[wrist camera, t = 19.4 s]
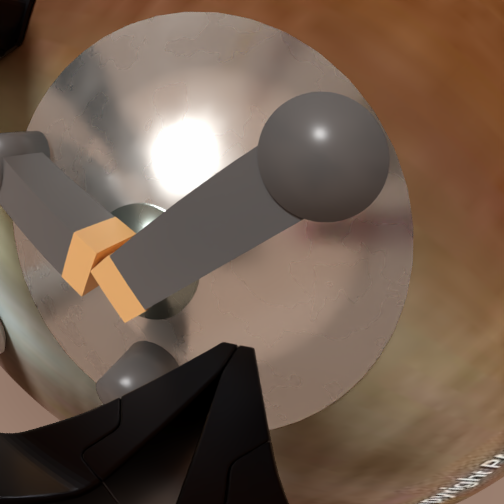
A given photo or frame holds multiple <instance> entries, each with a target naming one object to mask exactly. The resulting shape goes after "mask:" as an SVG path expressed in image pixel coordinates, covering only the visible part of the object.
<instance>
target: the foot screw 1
mask: <svg viewBox="0 0 504 504" xmlns="http://www.w3.org/2000/svg"><path fill="white" fill-rule="evenodd" d="M0 205H1V206H2V207H3V209H4V210H5V211H6V212H7V214H8V215H9V216H10V218H11V219H12V220H13V221H14V223H15V224H16V225H17V226H18V227H19V229H20V230H21V231H22V232H23V234H24V235H25V236H26V237H27V238H28V239H29V241H30V242H31V243H32V244H33V245H34V246H35V247H36V249H37V250H38V251H39V252H40V253H41V254H42V255H43V256H44V258H45V259H46V260H47V261H48V262H49V263H50V264H51V265H52V266H53V267H54V268H55V269H56V270H57V271H58V272H59V273H60V275H61V277H62V278H63V279H64V280H65V281H66V282H67V283H68V284H69V285H70V286H71V287H72V288H73V289H74V290H75V291H76V292H77V293H78V294H80V295H81V296H84V295H85V294H87V293H88V292H90V291H91V290H93V289H95V288H96V287H98V286H99V284H98V283H97V281H96V280H95V278H94V276H93V275H92V273H91V272H90V271H91V270H92V269H93V268H94V267H95V266H97V265H98V264H99V263H100V262H101V261H102V260H103V259H105V258H106V257H107V256H108V255H110V254H111V253H113V252H115V251H116V250H117V249H118V248H120V247H121V246H122V245H123V244H124V243H126V242H127V241H128V240H129V239H130V238H132V237H133V236H134V235H135V234H136V233H135V232H134V231H133V230H131V229H130V228H129V227H128V226H127V225H125V224H124V223H123V222H122V221H121V220H119V219H118V218H117V217H114V216H113V215H112V214H111V213H110V212H109V211H107V210H106V209H105V208H104V207H103V206H102V205H100V204H99V203H98V202H97V201H96V200H95V199H93V198H92V197H91V196H90V195H89V194H88V193H87V192H85V191H84V190H83V189H82V188H81V187H80V186H79V185H78V184H76V183H75V182H74V181H73V180H72V179H71V178H70V177H69V176H67V175H66V174H65V173H64V172H63V171H62V170H61V169H60V168H59V167H58V166H57V165H55V164H54V163H53V162H52V161H51V160H50V149H49V144H48V141H47V139H46V137H45V135H44V134H43V133H42V132H40V131H22V132H8V133H0Z"/></svg>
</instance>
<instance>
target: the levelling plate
mask: <svg viewBox="0 0 504 504" xmlns="http://www.w3.org/2000/svg"><path fill="white" fill-rule="evenodd" d="M310 92H332V93H337V94H341V95H344V96H346V97H349V98H351V99H353V100H355V101H356V102H358V103H359V104H361V105H362V106H364V107H365V108H366V109H367V110H368V111H369V112H370V113H371V114H372V115H373V116H374V117H375V119H376V120H377V121H378V123H379V124H380V126H381V128H382V130H383V132H384V134H385V137H386V139H387V143H388V147H389V156H390V163H389V171H388V176H387V179H386V182H385V185H384V187H383V189H382V191H381V192H380V194H379V195H378V197H377V198H376V199H375V200H374V202H373V203H372V204H371V205H370V206H369V207H367V208H366V209H365V210H364V211H362V212H361V213H359V214H357V215H355V216H353V217H351V218H349V219H345V220H342V221H337V222H326V223H325V222H315V221H310V220H306V219H303V220H301V221H300V222H298V223H296V224H294V225H293V226H291V227H289V228H287V229H286V230H284V231H282V232H280V233H279V234H277V235H275V236H273V237H272V238H270V239H268V240H266V241H265V242H263V243H261V244H259V245H258V246H256V247H254V248H252V249H251V250H249V251H247V252H245V253H244V254H242V255H240V256H238V257H237V258H235V259H233V260H231V261H230V262H228V263H226V264H224V265H223V266H221V267H219V268H217V269H216V270H214V271H212V272H210V273H209V274H207V275H205V276H203V277H202V278H200V279H198V280H196V281H195V282H193V283H191V284H190V285H188V286H186V287H184V288H183V289H181V290H179V291H177V292H176V293H174V294H172V295H170V296H169V297H167V298H165V299H163V300H162V301H160V302H158V303H156V304H155V305H153V306H151V307H150V308H149V309H148V310H147V311H145V312H143V313H142V314H140V315H138V316H136V317H135V318H133V319H131V320H129V321H128V322H126V323H124V321H123V320H122V318H121V317H120V316H119V314H118V313H117V311H116V310H115V308H114V307H113V306H112V304H111V303H110V301H109V300H108V298H107V297H106V295H105V294H104V292H103V291H102V289H101V287H100V286H98V287H96V288H95V289H93V290H91V291H90V292H88V293H87V294H85V295H84V296H81V295H80V294H78V293H77V292H76V291H75V290H74V289H73V288H72V287H71V286H70V285H69V284H68V283H67V282H66V281H65V280H64V279H63V278H62V277H61V275H60V273H59V272H58V271H57V270H56V269H55V268H54V267H53V266H52V265H51V264H50V263H49V262H48V261H47V260H46V259H45V258H44V256H43V255H42V254H41V253H40V252H39V251H38V250H37V249H36V247H35V246H34V245H33V244H32V243H31V242H30V241H29V239H28V238H27V237H26V236H25V235H24V234H23V232H22V231H21V230H20V229H19V227H18V226H17V225H16V224H15V223H14V221H13V226H14V236H15V242H16V247H17V252H18V257H19V261H20V265H21V268H22V272H23V275H24V278H25V281H26V284H27V286H28V289H29V291H30V294H31V296H32V299H33V301H34V303H35V305H36V307H37V309H38V311H39V313H40V315H41V317H42V318H43V320H44V322H45V323H46V325H47V327H48V328H49V330H50V331H51V333H52V334H53V336H54V337H55V339H56V340H57V341H58V343H59V344H60V345H61V347H62V348H63V349H64V351H65V352H66V353H67V354H68V355H69V356H70V358H71V359H72V360H73V361H74V362H75V363H76V364H77V365H78V366H79V367H80V368H81V369H82V370H83V371H84V372H85V373H86V374H87V375H88V376H89V377H90V378H91V379H92V380H93V381H95V382H96V383H97V381H98V380H99V379H100V378H101V377H102V376H103V375H104V374H105V373H106V372H107V371H108V370H109V369H110V368H111V367H112V366H113V365H114V364H115V362H116V361H117V360H118V359H119V358H120V357H121V356H122V355H123V354H124V353H125V352H126V351H127V350H128V349H129V348H130V347H131V346H132V345H133V344H134V343H136V342H138V341H148V342H152V343H155V344H157V345H159V346H161V347H162V348H164V349H165V350H167V351H168V352H169V353H170V354H171V355H172V356H173V357H174V358H175V360H176V361H177V363H178V364H179V366H181V365H182V364H184V363H186V362H188V361H190V360H191V359H193V358H195V357H197V356H199V355H200V354H202V353H204V352H206V351H208V350H209V349H211V348H213V347H215V346H216V345H218V344H220V343H222V342H227V343H232V344H237V345H238V346H240V345H243V346H248V347H253V348H254V349H255V353H256V359H257V365H258V371H259V376H260V382H261V388H262V393H263V399H264V405H265V410H266V416H267V421H268V427H269V430H271V429H276V428H279V427H282V426H286V425H289V424H292V423H295V422H298V421H300V420H302V419H305V418H307V417H309V416H311V415H313V414H315V413H317V412H319V411H321V410H323V409H324V408H326V407H327V406H329V405H330V404H332V403H333V402H335V401H336V400H337V399H339V398H340V397H342V396H343V395H344V394H345V393H346V392H347V391H349V390H350V389H351V388H352V387H353V386H354V385H355V384H356V383H357V382H358V381H359V380H360V379H362V377H363V376H364V375H365V374H366V373H367V371H368V370H369V369H370V368H371V366H372V365H373V364H374V363H375V361H376V360H377V359H378V357H379V356H380V355H381V353H382V351H383V349H384V348H385V346H386V344H387V342H388V341H389V339H390V337H391V335H392V333H393V332H394V330H395V327H396V325H397V322H398V319H399V317H400V314H401V311H402V308H403V306H404V303H405V300H406V296H407V291H408V286H409V281H410V275H411V270H412V263H413V222H412V215H411V208H410V201H409V195H408V189H407V185H406V182H405V179H404V176H403V173H402V170H401V167H400V164H399V161H398V158H397V155H396V152H395V149H394V147H393V145H392V143H391V141H390V139H389V138H388V136H387V134H386V132H385V130H384V128H383V126H382V125H381V123H380V121H379V119H378V117H377V116H376V114H375V112H374V111H373V109H372V108H371V107H370V105H369V104H368V103H367V101H366V100H365V99H364V98H363V96H362V95H361V94H360V93H359V91H358V90H357V89H356V88H355V86H354V85H353V84H352V83H351V82H350V80H349V79H348V78H347V77H346V76H345V75H343V74H342V73H341V72H340V71H339V70H338V69H337V68H336V67H335V66H333V65H332V64H331V63H330V62H329V61H328V60H327V59H325V58H324V57H323V56H322V55H321V54H320V53H318V52H317V51H315V50H314V49H312V48H310V47H309V46H307V45H306V44H304V43H302V42H301V41H299V40H297V39H296V38H294V37H292V36H291V35H289V34H287V33H285V32H283V31H281V30H278V29H276V28H273V27H271V26H268V25H266V24H263V23H260V22H258V21H255V20H252V19H248V18H243V17H238V16H233V15H228V14H222V13H212V12H182V13H175V14H168V15H161V16H156V17H152V18H149V19H146V20H142V21H139V22H136V23H133V24H130V25H128V26H126V27H124V28H121V29H119V30H117V31H115V32H113V33H111V34H109V35H108V36H106V37H104V38H102V39H101V40H99V41H98V42H96V43H95V44H94V45H92V46H91V47H89V48H88V49H87V50H85V51H84V52H83V53H81V54H80V55H79V56H78V57H77V58H76V59H75V60H74V61H73V62H72V63H71V64H70V65H68V66H67V67H66V68H65V69H64V71H63V72H62V73H61V74H60V75H59V77H58V78H57V79H56V80H55V81H54V83H53V84H52V85H51V86H50V88H49V89H48V91H47V92H46V94H45V95H44V97H43V99H42V100H41V102H40V103H39V105H38V107H37V109H36V111H35V113H34V115H33V117H32V119H31V121H30V123H29V125H28V128H27V130H26V131H40V132H42V133H43V134H44V135H45V137H46V139H47V141H48V144H49V149H50V160H51V161H52V162H53V163H54V164H55V165H57V166H58V167H59V168H60V169H61V170H62V171H63V172H64V173H65V174H66V175H67V176H69V177H70V178H71V179H72V180H73V181H74V182H75V183H76V184H78V185H79V186H80V187H81V188H82V189H83V190H84V191H85V192H87V193H88V194H89V195H90V196H91V197H92V198H93V199H95V200H96V201H97V202H98V203H99V204H100V205H102V206H103V207H104V208H105V209H106V210H107V211H109V212H110V213H111V214H112V215H113V216H114V217H117V218H118V219H119V220H121V221H122V222H123V223H124V224H125V225H127V226H128V227H129V228H130V229H131V230H133V231H134V232H135V233H136V234H137V233H138V232H139V231H140V230H142V229H143V228H144V227H145V226H147V225H148V224H149V223H150V222H152V221H153V220H154V219H156V218H157V217H158V216H159V215H161V214H162V213H163V212H165V211H166V210H167V209H168V208H170V207H171V206H172V205H174V204H175V203H176V202H178V201H179V200H180V199H182V198H183V197H184V196H186V195H187V194H189V193H190V192H191V191H193V190H194V189H195V188H197V187H198V186H199V185H201V184H202V183H204V182H205V181H206V180H208V179H209V178H211V177H212V176H214V175H215V174H216V173H218V172H219V171H221V170H222V169H224V168H225V167H226V166H228V165H229V164H231V163H232V162H234V161H235V160H237V159H238V158H240V157H241V156H243V155H244V154H246V153H247V152H249V151H250V150H252V149H253V148H255V147H256V146H258V142H259V138H260V135H261V132H262V129H263V127H264V125H265V123H266V122H267V120H268V118H269V117H270V116H271V115H272V113H273V112H274V111H275V110H276V109H277V108H278V107H279V106H281V105H282V104H283V103H285V102H286V101H288V100H290V99H292V98H294V97H296V96H299V95H302V94H305V93H310Z"/></svg>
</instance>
